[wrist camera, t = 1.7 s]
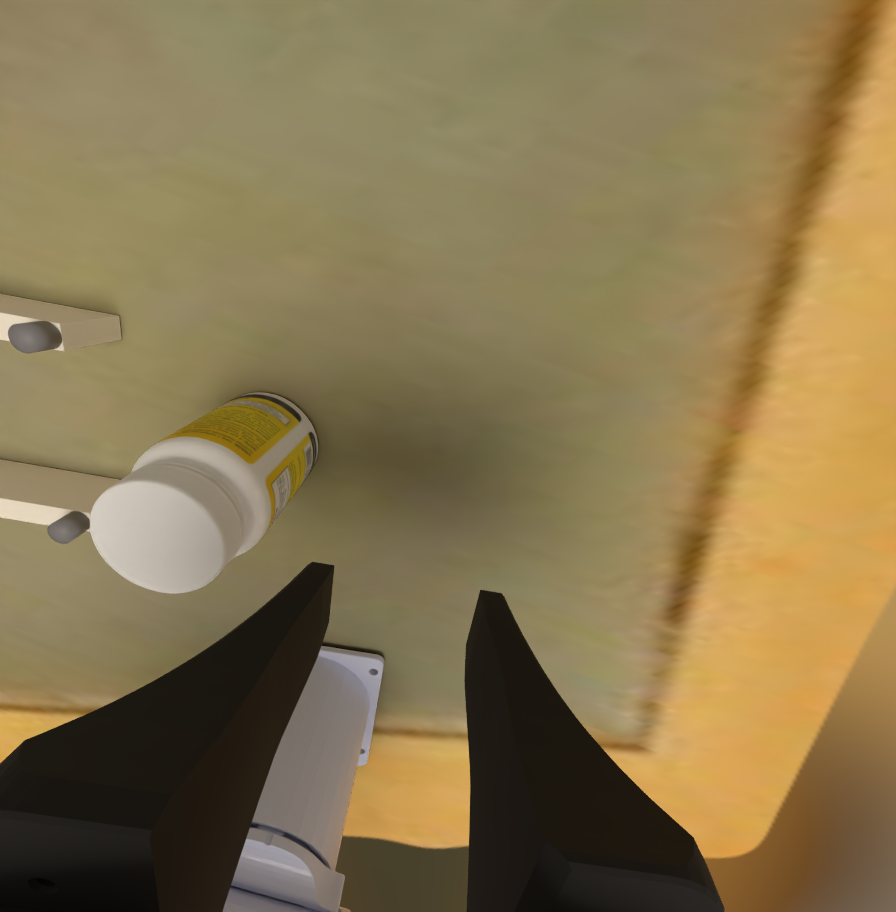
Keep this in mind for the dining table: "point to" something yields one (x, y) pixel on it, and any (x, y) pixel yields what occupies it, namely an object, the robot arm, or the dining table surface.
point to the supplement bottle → (204, 493)
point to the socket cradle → (36, 487)
